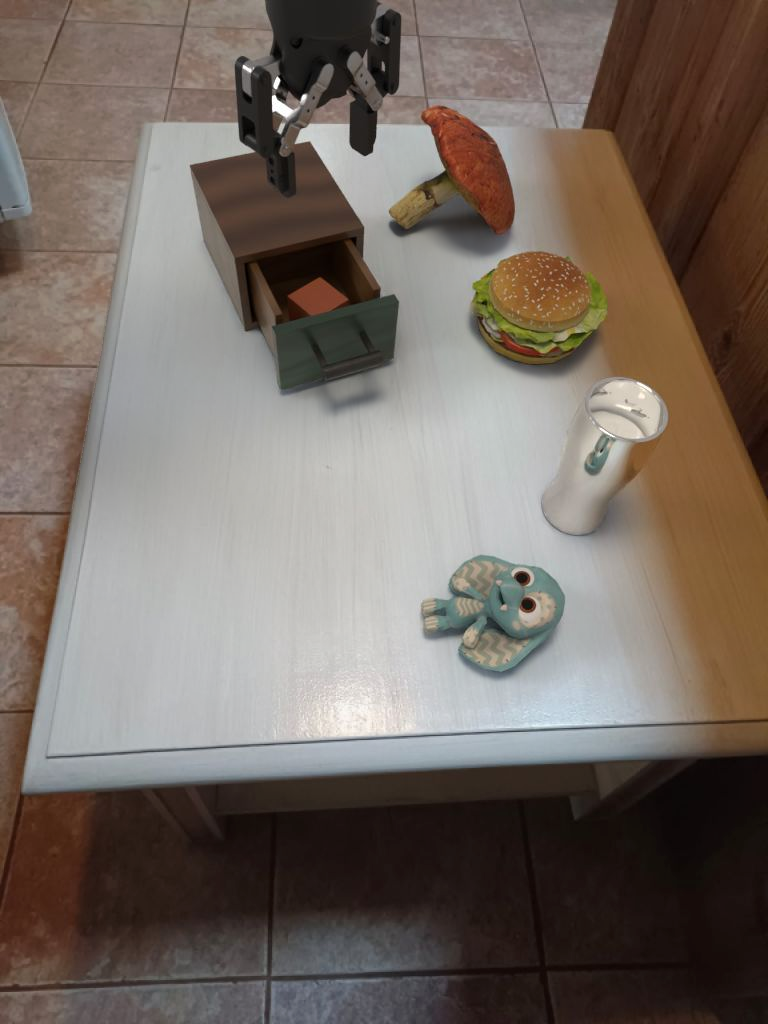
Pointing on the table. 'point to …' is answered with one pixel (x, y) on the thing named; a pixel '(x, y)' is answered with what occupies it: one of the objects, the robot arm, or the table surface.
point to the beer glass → (603, 452)
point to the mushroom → (461, 173)
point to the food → (537, 307)
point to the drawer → (322, 314)
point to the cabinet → (267, 216)
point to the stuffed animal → (498, 610)
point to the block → (315, 300)
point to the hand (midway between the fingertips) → (323, 171)
